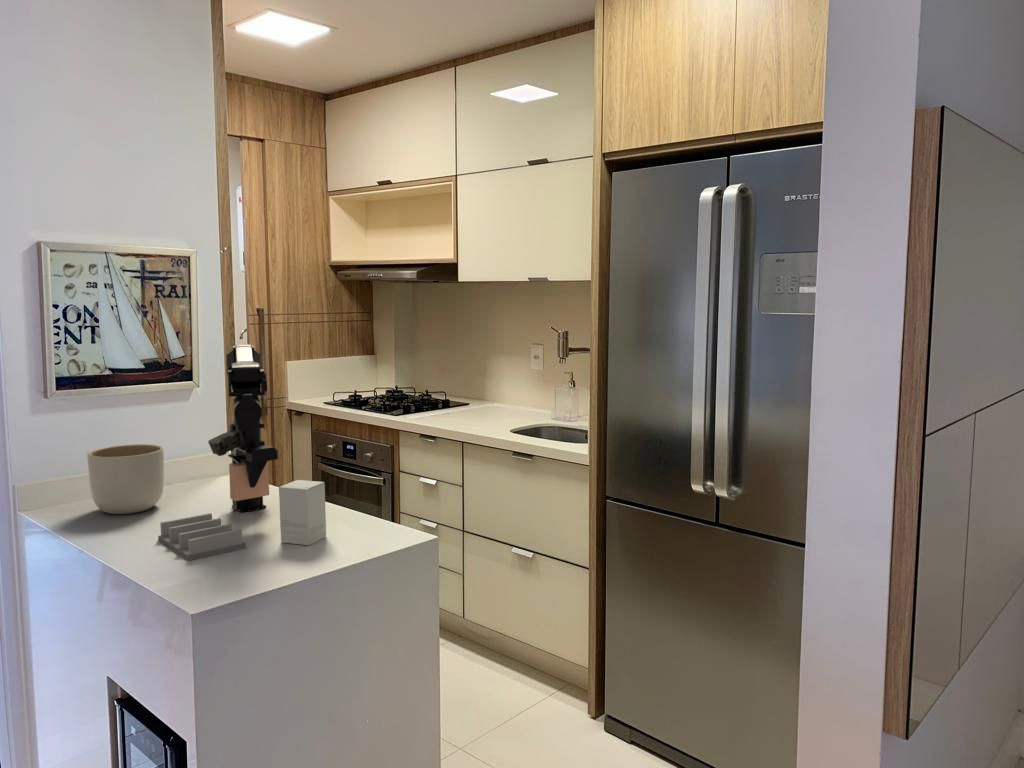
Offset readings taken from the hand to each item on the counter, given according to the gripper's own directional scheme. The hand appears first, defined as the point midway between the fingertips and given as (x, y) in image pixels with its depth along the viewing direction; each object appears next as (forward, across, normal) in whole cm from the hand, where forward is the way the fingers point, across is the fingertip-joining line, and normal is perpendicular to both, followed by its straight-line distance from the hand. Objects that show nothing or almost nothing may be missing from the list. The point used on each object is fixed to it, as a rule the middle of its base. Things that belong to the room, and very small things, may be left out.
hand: (249, 485), depth 176 cm
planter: (+10, -36, -16) cm, 41 cm away
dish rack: (+10, +4, -13) cm, 17 cm away
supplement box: (+10, +16, +5) cm, 20 cm away
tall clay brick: (+3, 0, 0) cm, 3 cm away
